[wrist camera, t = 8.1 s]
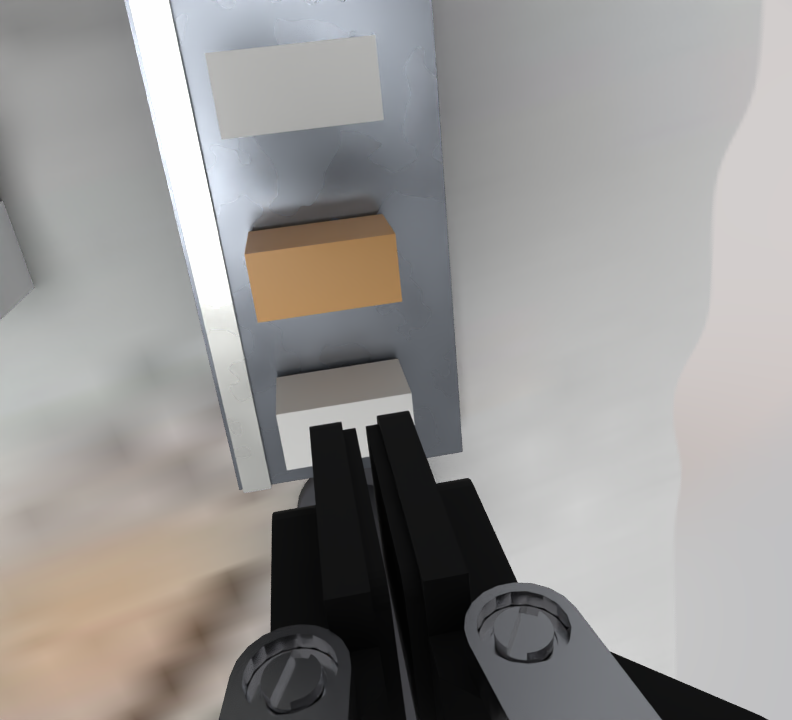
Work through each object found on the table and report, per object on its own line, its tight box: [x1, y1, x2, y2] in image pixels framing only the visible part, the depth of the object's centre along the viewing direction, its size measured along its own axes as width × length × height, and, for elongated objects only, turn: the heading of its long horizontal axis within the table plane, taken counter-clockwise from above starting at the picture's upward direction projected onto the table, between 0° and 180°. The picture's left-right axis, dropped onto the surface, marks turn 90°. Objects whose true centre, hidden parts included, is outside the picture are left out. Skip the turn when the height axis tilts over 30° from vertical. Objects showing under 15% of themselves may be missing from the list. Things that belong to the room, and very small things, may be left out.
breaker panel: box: [124, 0, 463, 493], centre depth 27 cm, size 20×10×3 cm, turn 6°
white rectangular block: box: [276, 359, 415, 470], centre depth 27 cm, size 2×5×3 cm, turn 96°
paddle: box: [205, 35, 384, 139], centre depth 22 cm, size 2×5×3 cm, turn 96°
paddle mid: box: [244, 214, 402, 323], centre depth 24 cm, size 2×5×3 cm, turn 96°
